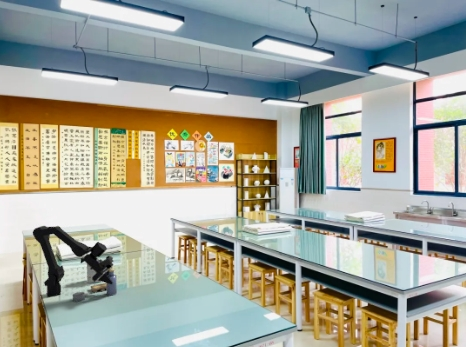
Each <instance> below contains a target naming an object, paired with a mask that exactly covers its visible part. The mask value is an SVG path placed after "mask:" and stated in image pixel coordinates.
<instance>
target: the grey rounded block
mask: <svg viewBox="0 0 466 347" xmlns="http://www.w3.org/2000/svg"><path fill="white" fill-rule="evenodd" d="M85 297H86V294H85V292H83V291H77V292H74V293H73V294H72V302H76V303H77V302H82V301H85V300H86V298H85Z"/></svg>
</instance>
